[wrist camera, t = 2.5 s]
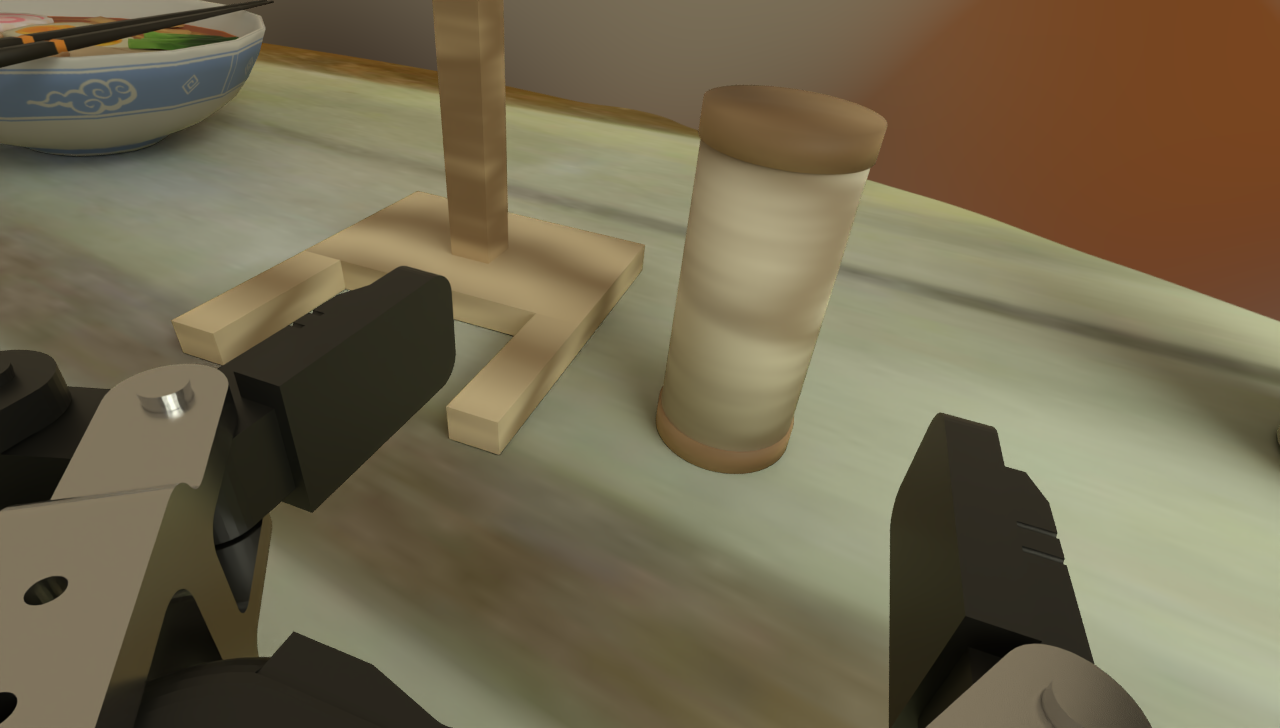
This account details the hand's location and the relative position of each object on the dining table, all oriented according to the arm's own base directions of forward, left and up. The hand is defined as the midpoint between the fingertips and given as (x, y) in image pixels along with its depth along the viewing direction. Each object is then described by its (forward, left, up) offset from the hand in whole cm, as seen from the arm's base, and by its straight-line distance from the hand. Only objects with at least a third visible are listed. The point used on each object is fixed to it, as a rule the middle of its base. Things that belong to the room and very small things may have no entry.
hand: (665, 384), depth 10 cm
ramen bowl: (+3, -50, -10) cm, 51 cm away
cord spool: (-10, -6, -10) cm, 15 cm away
